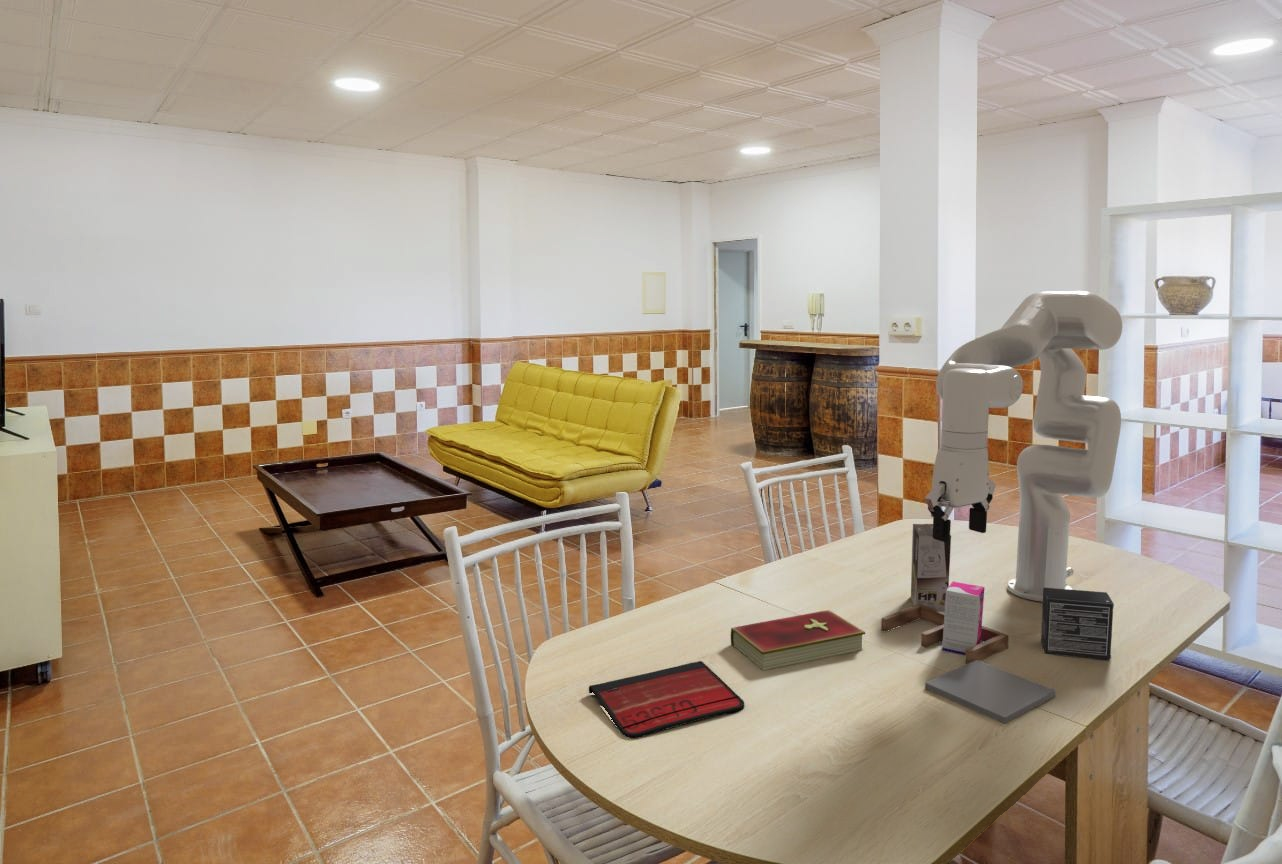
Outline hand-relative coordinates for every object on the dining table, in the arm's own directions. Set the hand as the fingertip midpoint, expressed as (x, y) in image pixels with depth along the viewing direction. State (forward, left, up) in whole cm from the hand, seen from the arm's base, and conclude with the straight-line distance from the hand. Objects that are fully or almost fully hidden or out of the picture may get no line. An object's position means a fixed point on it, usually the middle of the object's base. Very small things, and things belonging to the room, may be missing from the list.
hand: (959, 535), depth 146 cm
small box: (-16, +13, -21) cm, 30 cm away
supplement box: (-1, +1, -21) cm, 21 cm away
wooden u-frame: (-1, -4, -21) cm, 21 cm away
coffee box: (-14, -16, -21) cm, 30 cm away
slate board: (+10, +13, -21) cm, 27 cm away
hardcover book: (+22, -18, -22) cm, 36 cm away
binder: (+53, -16, -22) cm, 59 cm away
